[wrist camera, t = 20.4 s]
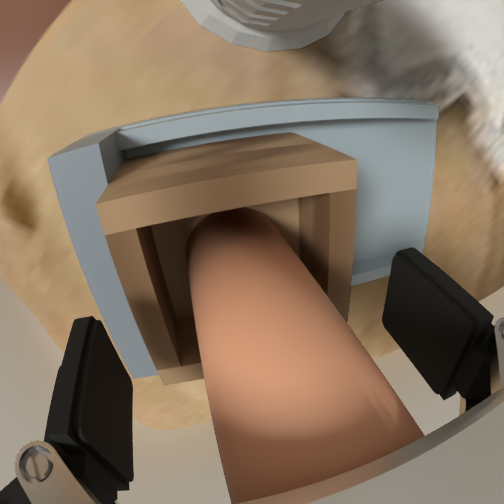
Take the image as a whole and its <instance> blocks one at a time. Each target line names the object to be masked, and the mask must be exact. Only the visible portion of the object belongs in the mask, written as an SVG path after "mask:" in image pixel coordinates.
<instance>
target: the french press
mask: <svg viewBox="0 0 504 504" xmlns="http://www.w3.org/2000/svg"><path fill="white" fill-rule="evenodd" d="M180 1H181V2H182V3H183V5H184V6H185V7H186V8H187V10H188V11H189V12H190V13H191V15H192V16H193V17H194V19H195V20H196V21H197V23H198V24H199V25H200V26H202V27H204V28H205V29H207V30H209V31H210V32H212V33H214V34H216V35H217V36H219V37H221V38H222V39H224V40H226V41H227V42H229V43H230V44H234V45H239V46H244V47H248V48H253V49H257V50H262V51H266V52H270V51H278V50H288V49H299V48H303V47H305V46H307V45H309V44H311V43H313V42H315V41H317V40H319V39H321V38H323V37H325V36H327V35H329V33H330V32H331V31H332V30H333V28H334V27H335V26H336V24H337V23H338V22H339V21H340V19H341V18H342V17H343V16H344V14H345V13H346V11H349V10H352V9H355V8H358V7H361V6H365V5H368V4H371V3H375V2H378V1H381V0H180Z"/></svg>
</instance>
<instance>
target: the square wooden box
mask: <svg viewBox="0 0 504 504" xmlns="http://www.w3.org/2000/svg"><path fill="white" fill-rule="evenodd" d="M356 195H357V159H355V158H353V157H351V156H348V155H346V154H344V153H342V152H339V151H337V150H335V149H332V148H330V147H328V146H325V145H323V144H321V143H318V142H316V141H313V140H311V139H308V138H306V137H303V136H301V135H298V134H296V133H293V132H285V133H276V134H267V135H259V136H251V137H244V138H237V139H230V140H223V141H217V142H211V143H205V144H199V145H193V146H188V147H182V148H177V149H172V150H167V151H162V152H157V153H152V154H148V155H143V156H139V157H134V158H130V159H126V160H124V162H123V163H122V164H121V166H120V167H119V169H118V170H117V172H116V173H115V175H114V176H113V178H112V179H111V181H110V182H109V184H108V185H107V187H106V188H105V190H104V192H103V193H102V195H101V196H100V198H99V199H98V201H97V203H96V208H97V211H98V215H99V218H100V222H101V225H102V228H103V232H104V235H105V238H106V241H107V244H108V247H109V250H110V254H111V257H112V259H113V262H114V265H115V268H116V271H117V274H118V277H119V280H120V282H121V285H122V288H123V291H124V293H125V296H126V299H127V301H128V304H129V306H130V309H131V311H132V314H133V316H134V319H135V321H136V324H137V326H138V329H139V331H140V334H141V336H142V338H143V341H144V343H145V345H146V348H147V350H148V352H149V354H150V357H151V359H152V361H153V363H154V365H155V368H156V370H157V372H158V374H159V376H160V378H161V380H162V382H163V385H169V384H175V383H181V382H187V381H192V380H198V379H203V378H204V373H203V368H202V362H201V356H200V350H199V344H198V338H197V332H196V325H195V319H194V312H193V305H192V298H191V291H190V284H189V276H188V269H187V261H186V247H187V242H188V239H189V237H190V234H191V233H192V231H193V229H194V228H195V227H196V225H197V224H198V223H199V222H200V221H201V220H202V219H203V218H205V217H206V216H208V215H209V214H211V213H214V212H219V211H225V210H230V209H236V208H241V207H247V208H251V209H254V210H256V211H259V212H260V213H262V214H264V215H265V216H266V217H267V218H269V220H270V221H271V222H272V223H273V224H274V226H275V227H276V228H277V229H278V231H279V232H280V233H281V235H282V236H283V237H284V239H285V240H286V241H287V243H288V244H289V245H290V247H291V248H292V249H293V251H294V252H295V253H296V255H297V256H298V257H299V259H300V260H301V261H302V263H303V264H304V265H305V267H306V268H307V269H308V271H309V272H310V273H311V275H312V276H313V277H314V279H315V280H316V281H317V283H318V284H319V285H320V287H321V288H322V290H323V291H324V292H325V294H326V295H327V296H328V298H329V299H330V300H331V302H332V303H333V305H334V306H335V307H336V309H337V310H338V312H339V313H340V314H341V316H342V317H343V318H344V320H345V321H346V323H347V320H348V311H349V302H350V292H351V281H352V269H353V256H354V241H355V222H356Z"/></svg>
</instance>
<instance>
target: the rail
mask: <svg viewBox="0 0 504 504" xmlns="http://www.w3.org/2000/svg"><path fill="white" fill-rule="evenodd" d="M437 119H439V106H437V103H435V102H430V101H424V100H413V99H395V98H313V99H294V100H280V101H268V102H257V103H248V104H239V105H231V106H223V107H216V108H209V109H203V110H197V111H191V112H185V113H179V114H174V115H168V116H163V117H158V118H154V119H149V120H144V121H140V122H135V123H131V124H127V125H123V126H119V127H115V128H111V129H107V130H103V131H99V132H96V133H92V134H89V135H87V136H85V137H83V138H81V139H79V140H78V141H76V142H74V143H72V144H71V145H69V146H67V147H65V148H64V149H62V150H60V151H59V152H57V153H55V154H54V155H52V156H50V157H49V158H47V160H48V164H49V168H50V172H51V175H52V179H53V183H54V187H55V190H56V194H57V197H58V200H59V204H60V207H61V210H62V214H63V217H64V220H65V223H66V226H67V229H68V232H69V235H70V238H71V241H72V243H73V246H74V249H75V252H76V255H77V257H78V260H79V263H80V265H81V268H82V270H83V273H84V275H85V278H86V280H87V283H88V285H89V288H90V290H91V292H92V295H93V297H94V300H95V302H96V304H97V306H98V309H99V311H100V313H101V315H102V318H103V320H104V322H105V324H106V326H107V328H108V330H109V332H110V335H111V337H112V339H113V341H114V343H115V345H116V347H117V349H118V351H119V353H120V355H121V357H122V358H123V360H124V362H125V364H126V366H127V368H128V370H129V372H130V374H131V375H132V377H133V379H134V378H141V377H148V376H154V375H159V374H158V372H157V370H156V368H155V365H154V363H153V361H152V359H151V357H150V354H149V352H148V350H147V348H146V345H145V343H144V341H143V338H142V336H141V334H140V331H139V329H138V326H137V324H136V321H135V319H134V316H133V314H132V311H131V309H130V306H129V304H128V301H127V299H126V296H125V293H124V291H123V288H122V285H121V282H120V280H119V277H118V274H117V271H116V268H115V265H114V262H113V259H112V257H111V254H110V250H109V247H108V244H107V241H106V238H105V235H104V232H103V228H102V225H101V222H100V218H99V215H98V211H97V208H96V203H97V201H98V199H99V198H100V196H101V195H102V193H103V192H104V190H105V188H106V187H107V185H108V184H109V182H110V181H111V179H112V178H113V176H114V175H115V173H116V172H117V170H118V169H119V167H120V166H121V164H122V163H123V162H124V160H126V159H130V158H134V157H139V156H143V155H148V154H152V153H157V152H162V151H167V150H172V149H177V148H182V147H188V146H193V145H199V144H205V143H211V142H217V141H223V140H230V139H237V138H244V137H251V136H259V135H267V134H276V133H285V132H293V133H296V134H298V135H301V136H303V137H306V138H308V139H311V140H313V141H316V142H318V143H321V144H323V145H325V146H328V147H330V148H332V149H335V150H337V151H339V152H342V153H344V154H346V155H348V156H351V157H353V158H355V159H357V195H356V222H355V241H354V256H353V269H352V281H351V286H355V285H358V284H362V283H366V282H369V281H373V280H376V279H380V278H384V277H387V276H390V271H391V264H392V259H393V257H394V256H395V255H396V252H397V251H399V250H403V249H406V248H410V247H413V248H415V249H417V250H418V251H419V252H420V253H422V254H423V250H424V245H425V239H426V233H427V226H428V219H429V212H430V204H431V195H432V186H433V176H434V163H435V148H436V123H437Z"/></svg>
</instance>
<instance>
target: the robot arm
mask: <svg viewBox="0 0 504 504" xmlns="http://www.w3.org/2000/svg"><path fill="white" fill-rule="evenodd" d="M493 317H494V316H493V315H492V314H491V313H490V312H489V311H488V310H486V309H485V308H484V307H483V306H482V305H481V304H480V303H479V302H478V301H477V300H476V299H475V298H473V297H472V296H471V295H470V294H469V293H468V292H467V291H466V290H464V289H463V288H462V287H461V286H460V285H459V284H458V283H456V282H455V281H454V280H453V279H452V278H451V277H449V276H448V275H447V274H446V273H445V272H444V271H442V270H441V269H440V268H439V267H438V266H436V265H435V264H434V263H433V262H431V261H430V260H429V259H428V258H427V257H425V256H424V255H423V254H422V253H420V252H419V251H418V250H417V249H415V248H413V247H410V248H406V249H403V250H399V251H397V252H396V255H395V256H394V257H393V259H392V264H391V271H390V277H389V283H388V289H387V295H386V301H385V306H384V311H383V317H382V322H383V325H384V327H385V329H386V330H387V331H388V332H389V334H390V335H391V336H392V337H393V339H394V340H395V341H396V343H397V344H398V345H399V346H400V348H401V349H402V350H403V352H404V353H405V354H406V356H407V357H408V358H409V359H410V361H411V362H412V363H413V365H414V366H415V367H416V369H417V370H418V371H419V372H420V374H421V375H422V377H423V378H424V379H425V381H426V382H427V383H428V385H429V386H430V387H431V389H432V390H433V391H434V392H435V393H436V394H440V396H441V397H442V398H443V400H446V399H447V398H449V397H451V396H453V395H454V394H455V393H456V392H457V391H458V392H459V393H460V412H459V417H457V418H455V419H454V420H452V421H450V422H449V423H447V424H445V425H444V426H442V427H440V428H438V429H437V430H435V431H433V432H431V433H430V434H428V435H426V436H424V437H422V438H420V439H418V440H416V441H415V442H413V443H411V444H409V445H407V446H405V447H403V448H401V449H399V450H397V451H394V452H392V453H390V454H388V455H386V456H384V457H381V458H379V459H377V460H375V461H372V462H370V463H368V464H365V465H363V466H360V467H358V468H355V469H353V470H350V471H348V472H345V473H343V474H340V475H337V476H334V477H332V478H329V479H326V480H323V481H320V482H317V483H314V484H311V485H308V486H304V487H301V488H298V489H294V490H291V491H287V492H284V493H280V494H276V495H272V496H268V497H264V498H260V499H256V500H251V501H246V502H242V503H237V504H504V318H501V319H499V320H498V321H497V322H496V324H495V326H493V325H492V324H491V322H492V320H493ZM132 400H133V386H132V381H131V378H130V376H129V375H128V373H127V371H126V369H125V367H124V365H123V364H122V362H121V360H120V358H119V356H118V354H117V352H116V350H115V348H114V346H113V344H112V342H111V340H110V338H109V336H108V334H107V332H106V330H105V328H104V326H103V324H102V322H101V321H100V320H96V319H95V318H94V317H93V316H90V317H84V318H78V319H75V320H74V322H73V325H72V329H71V332H70V336H69V339H68V343H67V346H66V350H65V354H64V358H63V362H62V365H61V366H60V368H59V370H58V374H57V378H56V382H55V386H54V391H53V395H52V400H51V405H50V410H49V415H48V420H47V426H46V431H45V438H44V441H33V442H30V443H28V444H26V445H25V446H24V447H23V448H22V449H21V450H20V451H19V453H18V454H17V456H16V460H15V473H16V475H17V477H16V478H15V479H14V480H13V481H12V482H10V483H9V484H8V485H7V486H6V487H5V488H4V489H3V490H1V491H0V504H119V503H118V502H117V501H116V500H117V491H123V490H129V482H131V481H133V478H134V472H133V443H132Z"/></svg>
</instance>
